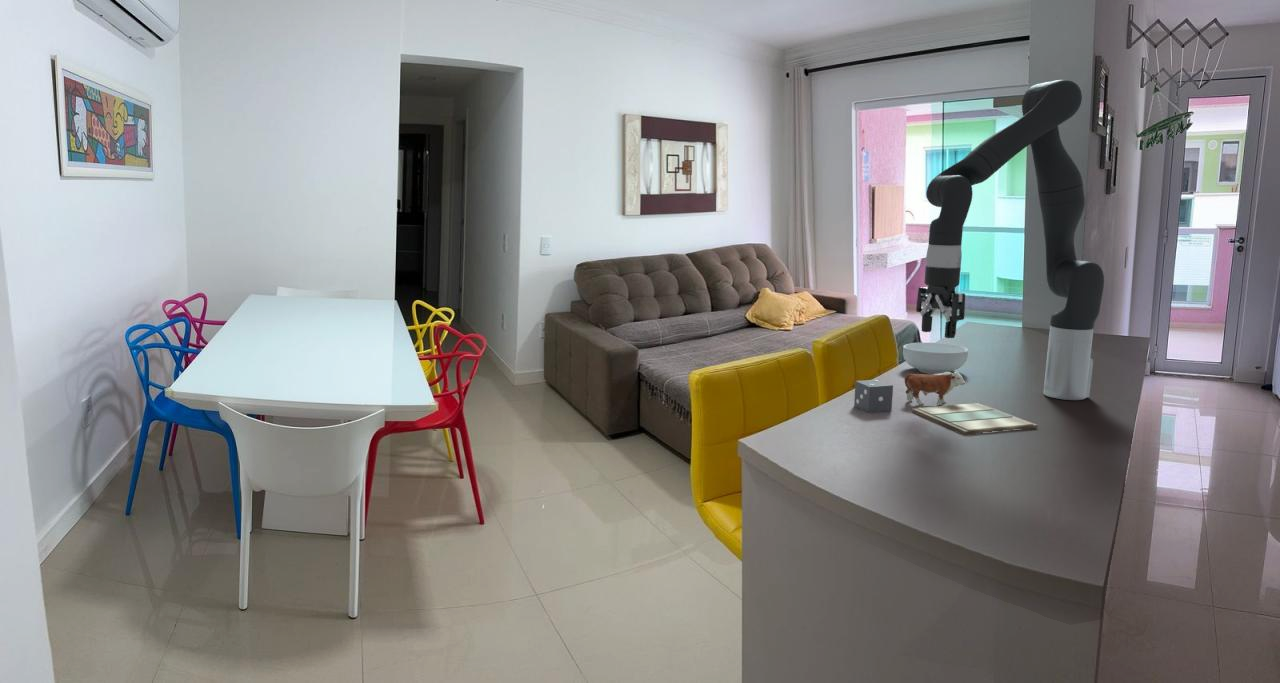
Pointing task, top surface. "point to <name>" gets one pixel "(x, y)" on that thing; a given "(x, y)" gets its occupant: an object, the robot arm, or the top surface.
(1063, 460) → the top surface
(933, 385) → the bull figurine
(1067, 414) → the top surface
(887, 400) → the die
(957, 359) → the cereal bowl
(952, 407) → the paneled room divider
